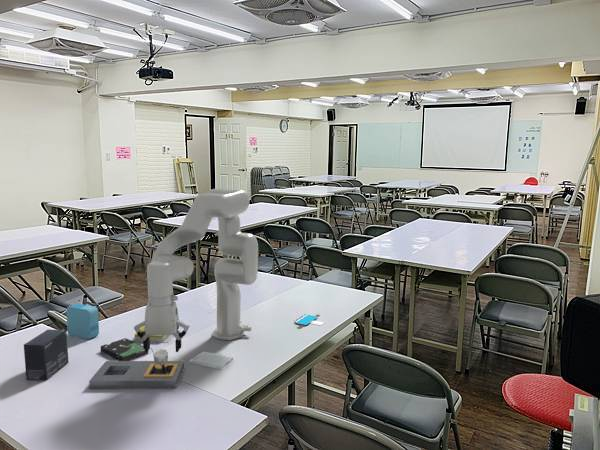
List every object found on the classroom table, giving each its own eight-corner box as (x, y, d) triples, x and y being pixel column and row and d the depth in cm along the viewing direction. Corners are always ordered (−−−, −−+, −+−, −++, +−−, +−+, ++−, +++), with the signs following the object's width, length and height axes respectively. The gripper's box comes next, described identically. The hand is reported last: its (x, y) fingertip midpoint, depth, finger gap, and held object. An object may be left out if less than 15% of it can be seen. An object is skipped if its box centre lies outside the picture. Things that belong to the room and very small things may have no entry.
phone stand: (312, 332, 188) (312, 328, 188) (287, 327, 194) (287, 323, 193) (331, 318, 206) (331, 315, 206) (308, 314, 211) (308, 310, 211)
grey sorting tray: (184, 367, 152) (184, 360, 152) (175, 388, 138) (175, 380, 138) (106, 368, 150) (106, 360, 150) (89, 388, 136) (89, 380, 136)
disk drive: (100, 353, 163) (123, 364, 154) (99, 346, 163) (123, 356, 154) (125, 344, 171) (149, 354, 163) (125, 337, 171) (148, 347, 162)
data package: (99, 336, 177) (98, 306, 176) (90, 340, 173) (89, 310, 171) (76, 331, 181) (75, 302, 180) (67, 335, 177) (65, 306, 176)
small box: (49, 362, 154) (47, 328, 152) (69, 362, 154) (67, 329, 152) (25, 380, 141) (22, 344, 139) (46, 381, 140) (44, 344, 139)
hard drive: (190, 359, 156) (221, 366, 152) (203, 350, 163) (233, 356, 159) (190, 364, 156) (221, 370, 152) (203, 355, 164) (233, 361, 159)
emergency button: (139, 323, 182) (175, 324, 181) (139, 333, 182) (175, 334, 182) (129, 331, 172) (168, 333, 172) (130, 342, 173) (168, 344, 173)
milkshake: (153, 373, 147) (152, 345, 146) (170, 374, 147) (169, 345, 146) (149, 380, 143) (148, 350, 141) (166, 380, 143) (165, 351, 141)
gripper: (190, 295, 146) (191, 345, 148) (136, 296, 144) (138, 345, 147) (186, 303, 138) (187, 355, 141) (129, 304, 137) (131, 356, 140)
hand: (162, 350), depth 144 cm, fingers open, 9 cm apart
